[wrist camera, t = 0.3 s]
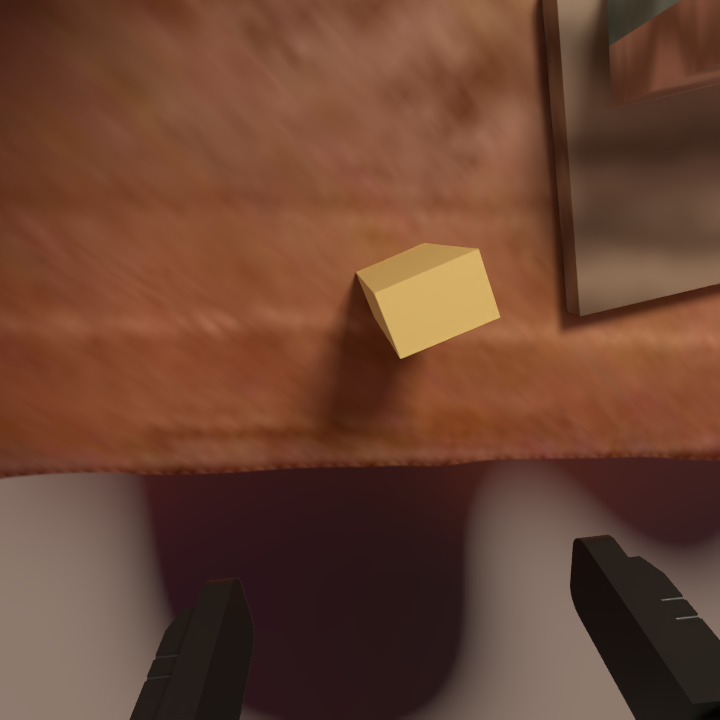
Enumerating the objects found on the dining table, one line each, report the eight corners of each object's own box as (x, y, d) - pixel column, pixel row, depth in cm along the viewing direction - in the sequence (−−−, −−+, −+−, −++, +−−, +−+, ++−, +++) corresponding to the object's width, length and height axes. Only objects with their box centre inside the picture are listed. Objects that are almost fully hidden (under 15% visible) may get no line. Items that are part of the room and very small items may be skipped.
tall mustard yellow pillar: (355, 272, 36) (374, 293, 24) (423, 243, 36) (478, 248, 23) (373, 316, 37) (400, 359, 25) (439, 288, 37) (500, 317, 25)
